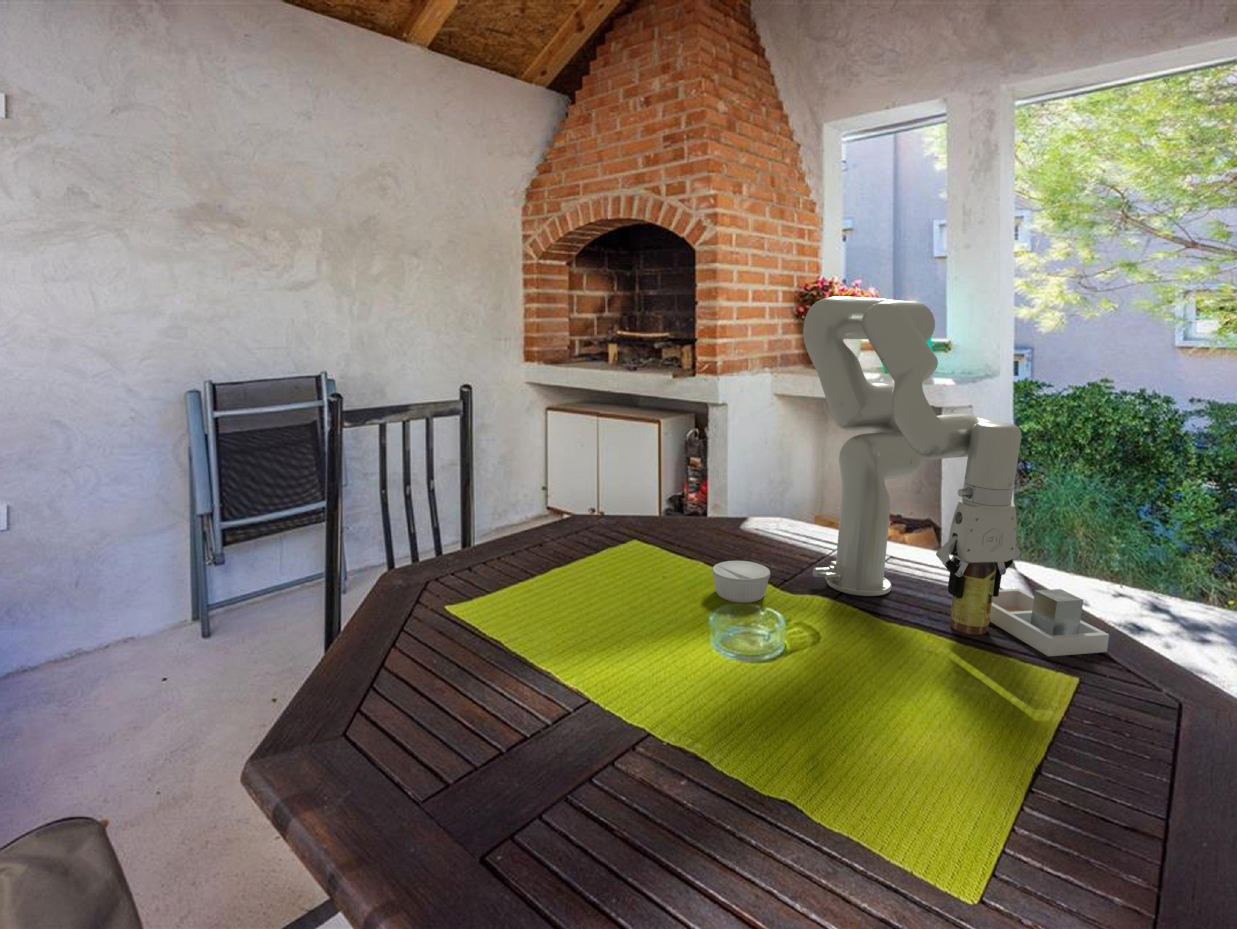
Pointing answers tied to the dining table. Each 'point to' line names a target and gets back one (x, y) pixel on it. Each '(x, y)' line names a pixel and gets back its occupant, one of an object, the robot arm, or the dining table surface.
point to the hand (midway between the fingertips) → (972, 593)
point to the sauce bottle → (974, 599)
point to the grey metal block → (1056, 612)
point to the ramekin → (740, 580)
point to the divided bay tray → (1016, 617)
